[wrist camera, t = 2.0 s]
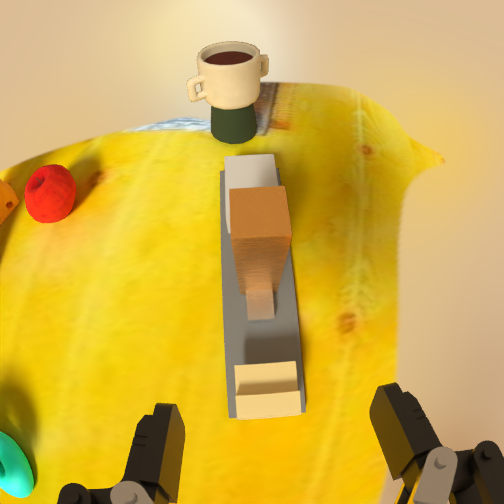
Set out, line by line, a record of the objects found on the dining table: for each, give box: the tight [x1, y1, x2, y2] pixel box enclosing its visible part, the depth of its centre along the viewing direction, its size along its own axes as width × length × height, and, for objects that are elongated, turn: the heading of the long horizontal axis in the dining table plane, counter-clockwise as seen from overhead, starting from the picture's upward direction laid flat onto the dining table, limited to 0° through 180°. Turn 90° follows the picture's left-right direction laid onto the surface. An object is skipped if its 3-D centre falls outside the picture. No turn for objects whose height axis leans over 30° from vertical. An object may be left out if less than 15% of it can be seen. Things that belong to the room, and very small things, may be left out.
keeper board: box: [220, 154, 306, 420], centre depth 27 cm, size 27×7×5 cm, turn 4°
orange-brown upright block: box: [229, 186, 292, 323], centre depth 24 cm, size 17×4×12 cm, turn 4°
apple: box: [24, 164, 76, 223], centre depth 30 cm, size 8×8×7 cm
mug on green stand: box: [187, 41, 269, 144], centre depth 32 cm, size 11×7×13 cm, turn 124°
